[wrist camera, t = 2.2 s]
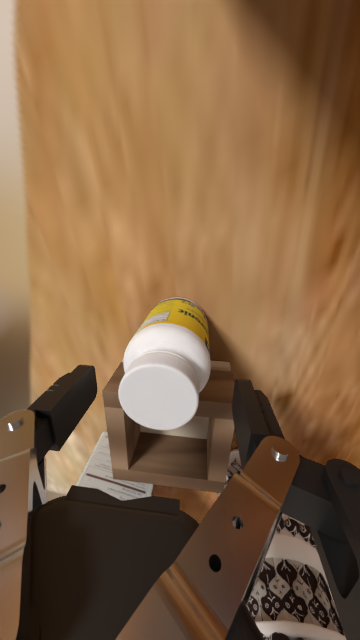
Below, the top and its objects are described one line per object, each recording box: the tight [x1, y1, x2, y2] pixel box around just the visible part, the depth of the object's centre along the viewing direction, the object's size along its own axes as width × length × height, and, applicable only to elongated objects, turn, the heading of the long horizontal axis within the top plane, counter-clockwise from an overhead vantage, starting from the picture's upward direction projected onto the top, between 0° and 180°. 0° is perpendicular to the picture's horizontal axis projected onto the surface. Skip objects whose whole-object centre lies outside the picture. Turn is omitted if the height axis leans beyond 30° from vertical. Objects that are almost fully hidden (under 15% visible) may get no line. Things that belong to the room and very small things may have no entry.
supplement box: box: [75, 431, 154, 500], centre depth 21 cm, size 7×7×13 cm
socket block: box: [102, 359, 235, 493], centre depth 20 cm, size 10×10×6 cm
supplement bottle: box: [118, 297, 211, 430], centre depth 15 cm, size 5×5×10 cm
